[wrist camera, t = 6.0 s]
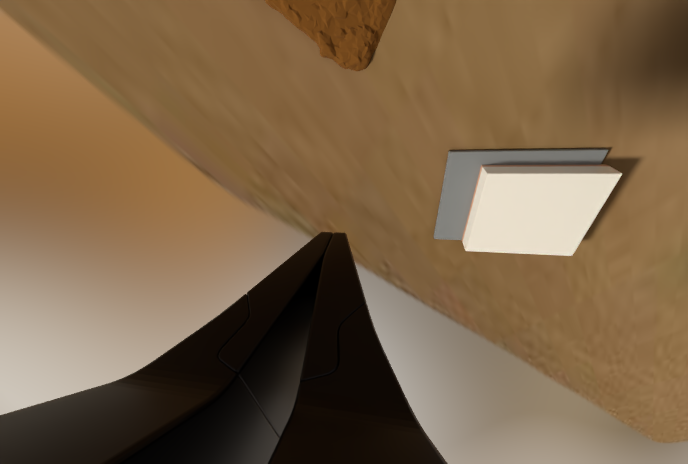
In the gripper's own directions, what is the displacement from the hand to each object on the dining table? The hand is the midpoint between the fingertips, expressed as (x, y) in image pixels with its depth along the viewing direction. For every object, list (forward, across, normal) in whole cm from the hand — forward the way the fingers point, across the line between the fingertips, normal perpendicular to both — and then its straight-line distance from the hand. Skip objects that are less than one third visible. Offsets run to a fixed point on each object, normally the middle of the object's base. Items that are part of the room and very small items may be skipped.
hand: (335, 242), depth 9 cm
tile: (+12, -8, +6) cm, 16 cm away
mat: (+13, -11, +6) cm, 18 cm away
